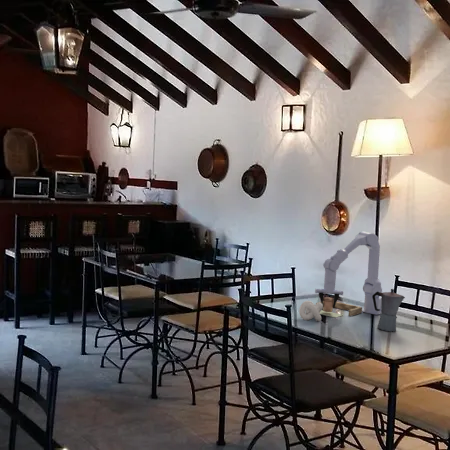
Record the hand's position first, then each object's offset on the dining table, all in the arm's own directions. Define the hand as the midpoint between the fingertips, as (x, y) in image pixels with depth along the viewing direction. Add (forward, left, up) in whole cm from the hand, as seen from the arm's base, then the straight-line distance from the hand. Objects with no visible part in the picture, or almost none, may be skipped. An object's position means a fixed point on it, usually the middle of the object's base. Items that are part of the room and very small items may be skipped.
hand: (328, 307), depth 325 cm
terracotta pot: (0, 0, -2) cm, 2 cm away
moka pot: (-35, +5, -4) cm, 35 cm away
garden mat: (0, 0, -3) cm, 3 cm away
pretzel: (-2, +19, -4) cm, 19 cm away
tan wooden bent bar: (0, -11, -3) cm, 12 cm away
